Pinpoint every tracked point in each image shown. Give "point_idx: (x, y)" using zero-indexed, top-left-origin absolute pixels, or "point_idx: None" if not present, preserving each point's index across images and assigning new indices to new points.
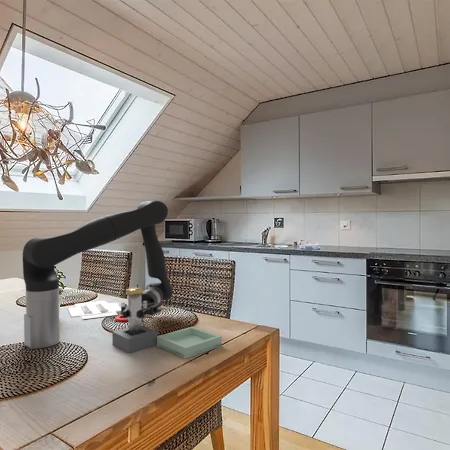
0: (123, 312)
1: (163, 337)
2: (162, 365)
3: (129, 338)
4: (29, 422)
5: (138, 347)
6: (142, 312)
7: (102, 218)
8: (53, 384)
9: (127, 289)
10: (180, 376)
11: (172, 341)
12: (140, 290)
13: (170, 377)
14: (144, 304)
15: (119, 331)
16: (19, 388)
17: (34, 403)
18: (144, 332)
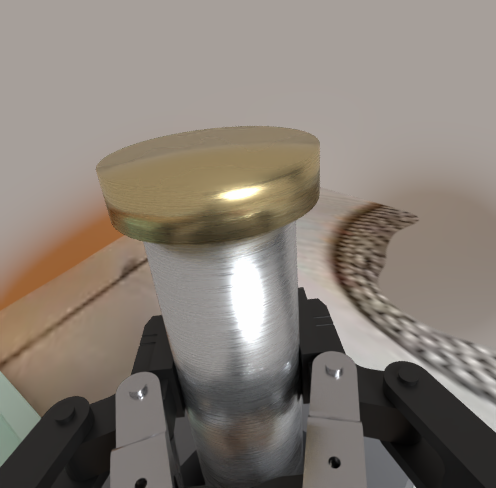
0: (311, 302)
1: None
2: (98, 330)
3: None
4: None
5: None
6: (155, 316)
7: None
8: (340, 234)
9: (300, 137)
10: (56, 293)
11: (15, 410)
12: (130, 147)
13: (82, 287)
14: (149, 441)
15: (373, 456)
16: (392, 219)
17: (317, 205)
18: (180, 465)
